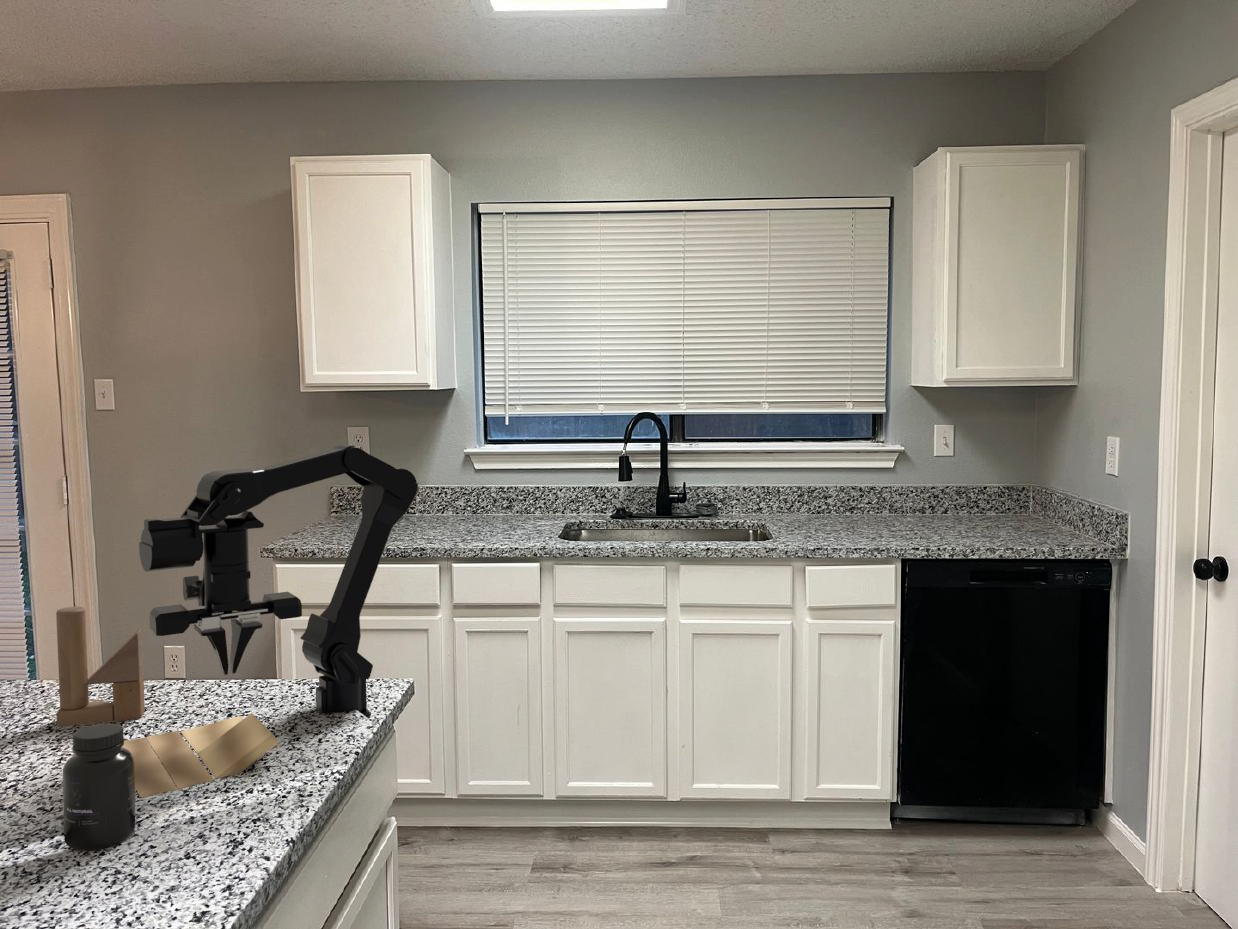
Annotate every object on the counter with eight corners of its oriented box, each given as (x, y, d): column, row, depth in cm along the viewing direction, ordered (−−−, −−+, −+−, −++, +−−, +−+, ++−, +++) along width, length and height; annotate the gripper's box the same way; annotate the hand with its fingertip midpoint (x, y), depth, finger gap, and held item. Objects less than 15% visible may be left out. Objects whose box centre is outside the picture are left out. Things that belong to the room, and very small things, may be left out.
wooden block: (141, 728, 130) (137, 607, 129) (56, 737, 127) (51, 612, 125) (145, 720, 134) (141, 601, 132) (63, 728, 130) (58, 607, 129)
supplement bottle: (61, 858, 93) (57, 747, 92) (67, 830, 99) (63, 725, 98) (136, 843, 96) (132, 735, 96) (137, 817, 103) (133, 715, 102)
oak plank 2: (257, 721, 122) (251, 713, 121) (278, 742, 114) (272, 733, 114) (203, 762, 118) (197, 753, 117) (222, 786, 110) (215, 778, 110)
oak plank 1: (241, 726, 130) (240, 716, 130) (260, 746, 123) (259, 735, 122) (181, 741, 125) (180, 731, 125) (197, 763, 118) (196, 752, 118)
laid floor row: (177, 741, 125) (177, 730, 125) (214, 792, 109) (214, 780, 109) (113, 754, 121) (112, 743, 120) (141, 810, 104) (140, 797, 104)
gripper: (279, 548, 135) (281, 649, 136) (140, 560, 124) (144, 671, 125) (302, 559, 126) (304, 667, 127) (155, 573, 115) (158, 692, 116)
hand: (229, 673), depth 124 cm, fingers closed
